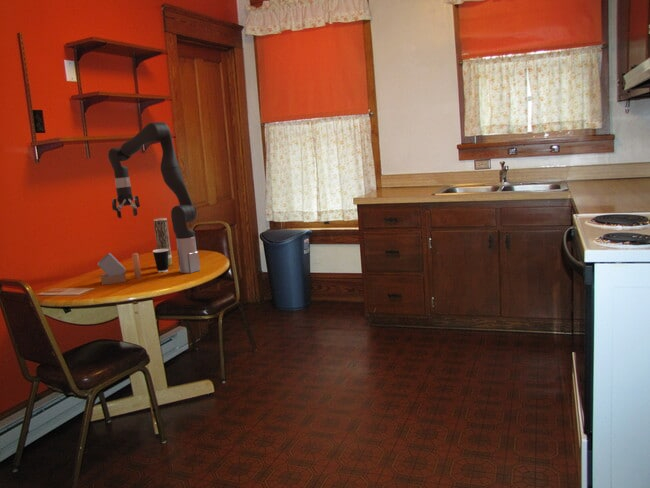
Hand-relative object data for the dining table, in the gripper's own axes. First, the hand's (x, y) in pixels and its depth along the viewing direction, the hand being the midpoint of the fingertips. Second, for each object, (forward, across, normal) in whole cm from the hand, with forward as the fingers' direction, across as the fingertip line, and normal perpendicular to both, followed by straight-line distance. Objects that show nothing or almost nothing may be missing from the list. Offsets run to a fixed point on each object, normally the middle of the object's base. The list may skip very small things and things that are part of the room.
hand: (127, 217), depth 326 cm
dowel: (+27, -13, -28) cm, 41 cm away
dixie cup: (+28, +2, -26) cm, 38 cm away
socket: (+27, -23, -23) cm, 43 cm away
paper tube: (+28, +11, -13) cm, 32 cm away
